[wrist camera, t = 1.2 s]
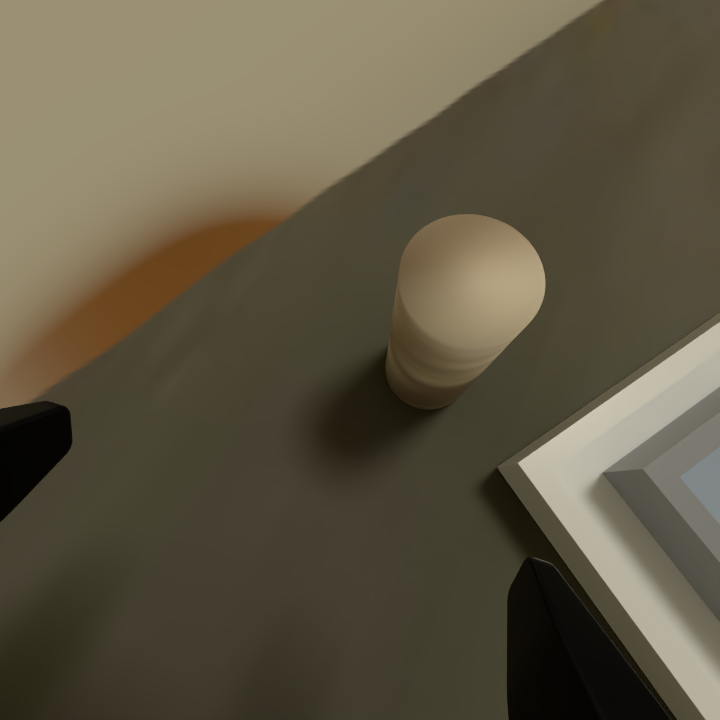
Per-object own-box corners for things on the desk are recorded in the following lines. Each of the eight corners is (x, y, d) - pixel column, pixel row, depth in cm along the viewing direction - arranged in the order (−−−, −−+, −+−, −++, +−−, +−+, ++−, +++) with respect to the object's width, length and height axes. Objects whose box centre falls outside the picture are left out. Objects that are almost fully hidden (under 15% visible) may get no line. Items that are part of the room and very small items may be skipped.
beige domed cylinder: (485, 381, 22) (576, 295, 12) (416, 426, 21) (456, 371, 12) (436, 316, 23) (485, 192, 14) (369, 357, 22) (371, 256, 13)
